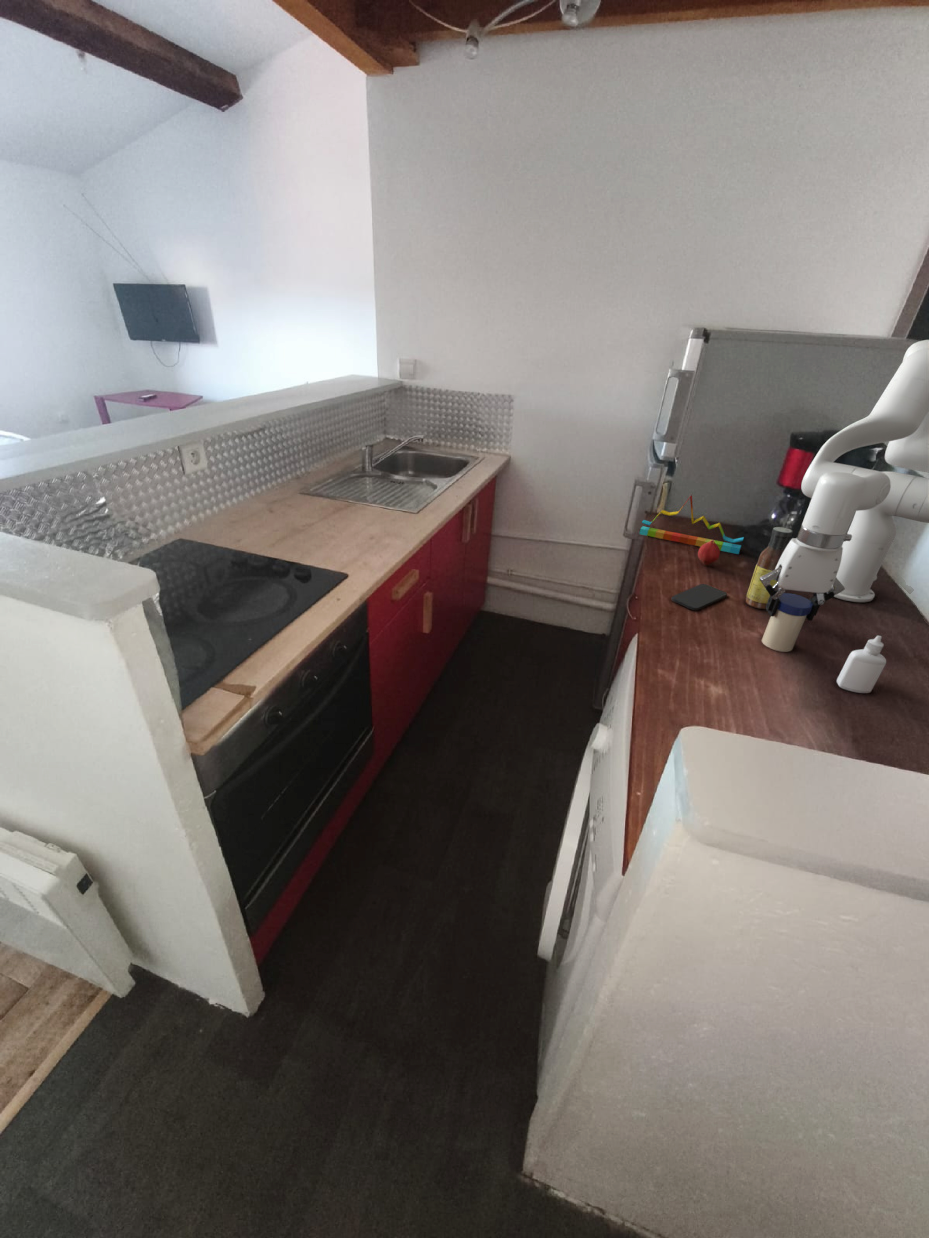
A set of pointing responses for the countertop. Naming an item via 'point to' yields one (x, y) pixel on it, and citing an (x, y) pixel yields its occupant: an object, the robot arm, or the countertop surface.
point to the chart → (687, 538)
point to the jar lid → (794, 604)
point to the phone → (699, 597)
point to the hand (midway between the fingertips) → (788, 614)
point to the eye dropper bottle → (863, 668)
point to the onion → (709, 552)
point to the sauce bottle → (767, 567)
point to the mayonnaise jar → (782, 631)
